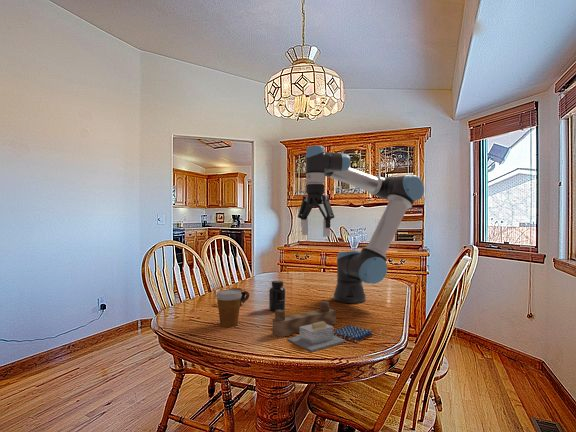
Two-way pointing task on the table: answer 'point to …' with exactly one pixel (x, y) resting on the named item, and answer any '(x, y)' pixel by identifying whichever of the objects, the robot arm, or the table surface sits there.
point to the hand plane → (302, 320)
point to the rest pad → (317, 346)
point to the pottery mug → (242, 295)
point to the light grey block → (316, 333)
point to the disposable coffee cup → (228, 307)
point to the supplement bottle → (277, 296)
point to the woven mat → (353, 333)
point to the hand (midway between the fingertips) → (315, 235)
